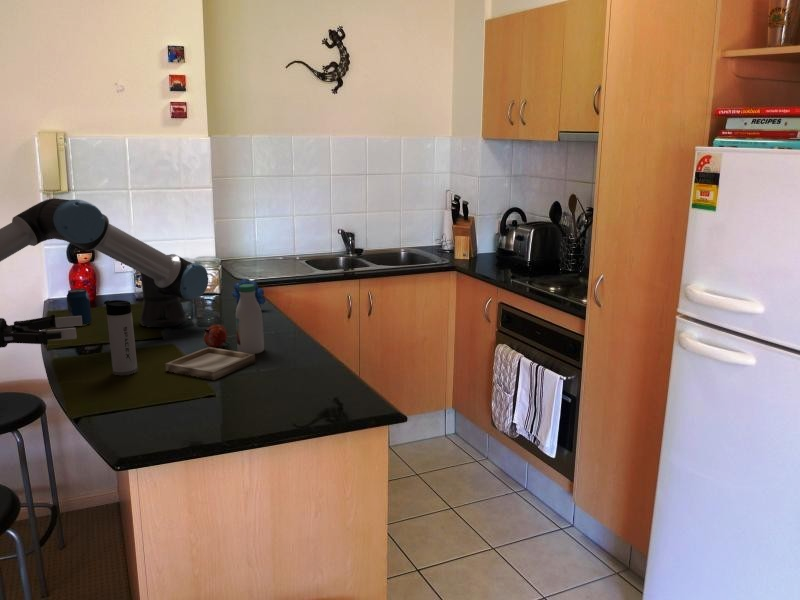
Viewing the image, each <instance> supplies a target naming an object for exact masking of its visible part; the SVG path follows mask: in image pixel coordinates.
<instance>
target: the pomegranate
mask: <svg viewBox="0 0 800 600" xmlns="http://www.w3.org/2000/svg"><path fill="white" fill-rule="evenodd" d="M203 332H204V334H203V342H204V344H205V345H206V346H207V347H212V348H218V349H222V347H223V346H224V343H225V344H227V345H230V344H229V343H228V342H226V341H227V340H228V332H227V329H226V328H225V327H224V326H223V325H221V324H211V325H210V326H208V327H207V328H206V329H204V330H203Z"/></svg>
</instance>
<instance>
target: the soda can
mask: <svg viewBox="0 0 800 600" xmlns="http://www.w3.org/2000/svg"><path fill="white" fill-rule="evenodd" d="M66 303H67V311H68V313H67V314H68V317H70V316H82V325H83V324H87V323H90V322H91V323H92V321H93V319H92V311H91V302H90V294H89V293H88V291H87V288H75V289H69V290H68V291H67V294H66ZM91 323H90V324H91Z"/></svg>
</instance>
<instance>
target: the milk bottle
mask: <svg viewBox="0 0 800 600" xmlns="http://www.w3.org/2000/svg"><path fill="white" fill-rule="evenodd" d="M239 293H240V300H239V303H238V305H236V309H235V332H236V333H235V334H236V344H237V346H236V347H237V348H236V349H237V352H243V353H249V354H255V355H258V354H260V353H263V352H264V350H265V338H264V323H263V313H262V309H261V308H262V307H261V308H260V306H259V304H258V302H257V300H256V297H255V285H253V284H243V285H240V286H239Z"/></svg>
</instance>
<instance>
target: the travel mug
mask: <svg viewBox="0 0 800 600" xmlns="http://www.w3.org/2000/svg"><path fill="white" fill-rule="evenodd" d="M103 305H105V309H106V321H107V328H108V329H107V330H108V337H109V339H108V340H109V347H110V357H111V367H112V373H113V374H112V375H114V376H116V375H127V376H131V375H130V374H132V375H134V374H136V373H138V369H139V368H138V361H137V352H136V341H135V331H134V322H133V321H134V320H133V313H132V312H133V311H132V304H131V302H130V301H128V300H122V299H113V300H109V299H108V300H107V299H106V300H105V301H104V302H103ZM133 373H134V374H133Z"/></svg>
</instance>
